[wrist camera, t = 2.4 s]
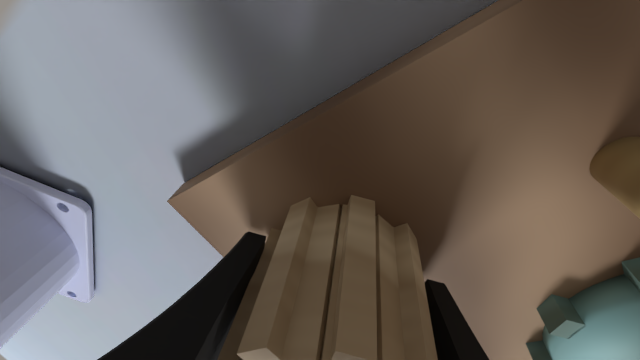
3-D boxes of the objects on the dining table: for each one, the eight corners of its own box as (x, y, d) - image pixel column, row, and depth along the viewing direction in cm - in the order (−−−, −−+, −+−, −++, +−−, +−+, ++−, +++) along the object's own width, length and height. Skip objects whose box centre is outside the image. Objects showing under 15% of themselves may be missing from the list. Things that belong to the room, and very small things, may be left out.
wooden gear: (262, 281, 13) (209, 423, 9) (280, 175, 10) (212, 318, 6) (388, 314, 13) (395, 473, 9) (445, 219, 10) (500, 394, 6)
